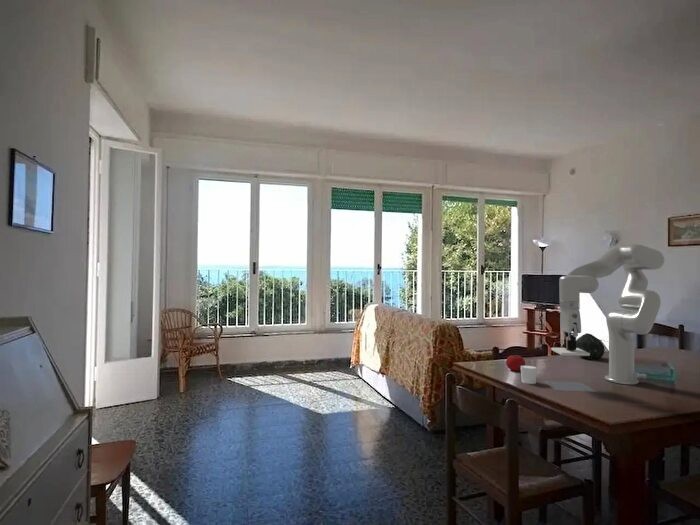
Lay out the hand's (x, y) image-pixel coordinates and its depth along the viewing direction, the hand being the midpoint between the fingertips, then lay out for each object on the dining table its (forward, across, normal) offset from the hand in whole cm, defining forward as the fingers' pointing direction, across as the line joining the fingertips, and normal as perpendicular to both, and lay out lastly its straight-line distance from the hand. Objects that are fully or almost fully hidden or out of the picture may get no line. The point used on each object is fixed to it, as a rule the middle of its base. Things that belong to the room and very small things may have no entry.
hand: (569, 348), depth 174 cm
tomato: (+16, +27, +15) cm, 35 cm away
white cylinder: (+16, +4, +16) cm, 23 cm away
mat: (+16, 0, +1) cm, 16 cm away
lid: (+2, 0, 0) cm, 2 cm away
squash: (+18, +64, -36) cm, 76 cm away
